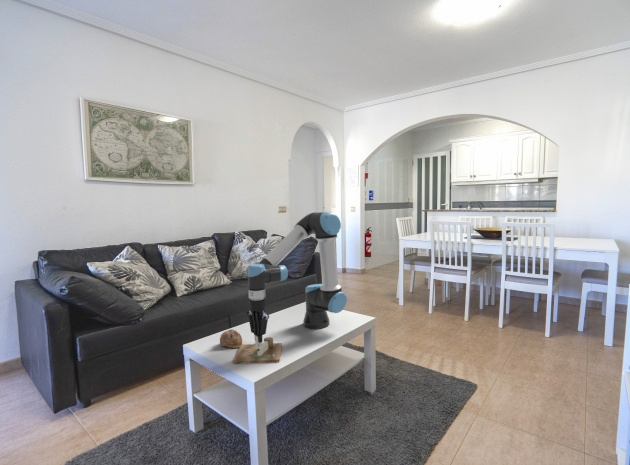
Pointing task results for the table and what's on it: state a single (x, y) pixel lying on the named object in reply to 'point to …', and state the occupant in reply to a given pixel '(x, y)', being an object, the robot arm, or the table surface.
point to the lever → (265, 346)
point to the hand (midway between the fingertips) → (258, 348)
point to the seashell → (231, 339)
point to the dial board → (250, 354)
